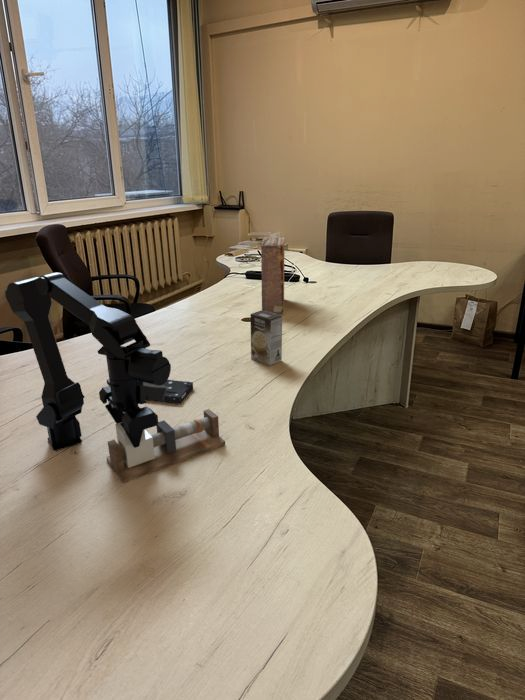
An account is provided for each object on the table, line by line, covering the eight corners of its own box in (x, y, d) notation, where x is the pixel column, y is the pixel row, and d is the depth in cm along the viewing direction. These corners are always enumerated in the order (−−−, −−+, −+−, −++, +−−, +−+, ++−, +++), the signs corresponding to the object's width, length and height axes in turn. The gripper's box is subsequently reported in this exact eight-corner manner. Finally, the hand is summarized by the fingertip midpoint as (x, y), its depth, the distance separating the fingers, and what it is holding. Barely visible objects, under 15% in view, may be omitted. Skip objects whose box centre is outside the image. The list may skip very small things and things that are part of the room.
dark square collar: (168, 453, 109) (166, 432, 107) (158, 443, 114) (156, 422, 112) (176, 450, 110) (174, 430, 109) (166, 440, 115) (164, 420, 113)
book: (265, 299, 236) (264, 236, 225) (284, 299, 235) (284, 236, 224) (261, 314, 212) (261, 245, 201) (283, 314, 212) (283, 245, 201)
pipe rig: (122, 482, 102) (119, 456, 100) (106, 460, 110) (103, 436, 107) (225, 444, 115) (224, 420, 113) (204, 427, 123) (203, 404, 121)
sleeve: (128, 467, 105) (124, 434, 102) (119, 456, 109) (115, 424, 106) (154, 458, 108) (151, 426, 105) (145, 447, 112) (141, 416, 109)
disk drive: (193, 390, 145) (147, 385, 148) (193, 381, 144) (146, 376, 147) (180, 406, 135) (131, 400, 138) (180, 397, 134) (130, 391, 137)
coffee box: (249, 359, 165) (249, 313, 159) (262, 353, 169) (262, 309, 164) (270, 366, 159) (269, 319, 153) (282, 360, 164) (283, 314, 158)
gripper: (179, 381, 98) (184, 448, 103) (142, 353, 112) (149, 413, 118) (125, 395, 92) (134, 466, 97) (94, 364, 106) (103, 427, 112)
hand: (131, 441), depth 106 cm, fingers closed on sleeve, 5 cm apart
